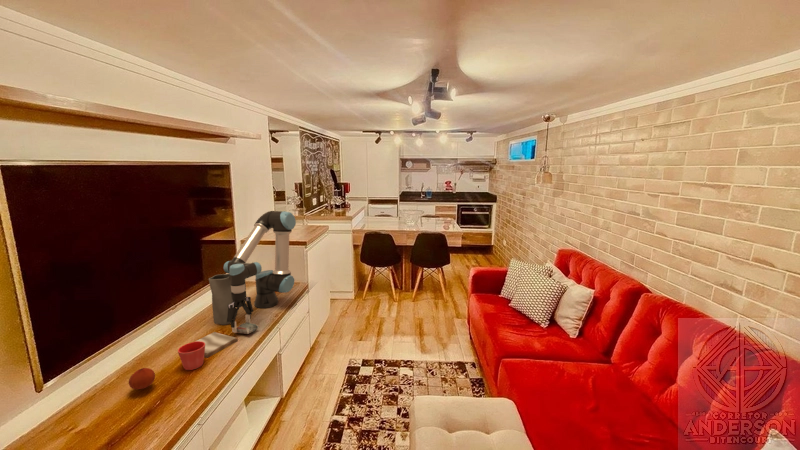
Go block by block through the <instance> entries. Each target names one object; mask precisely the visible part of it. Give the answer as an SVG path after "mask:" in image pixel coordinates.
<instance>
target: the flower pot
mask: <svg viewBox="0 0 800 450" xmlns="http://www.w3.org/2000/svg"><path fill="white" fill-rule="evenodd" d="M196 341H197V340H196ZM204 353H205V343H204V342H201V341H197V342H195V341H193V342H188V343H185V344H183V345H181V346H180V347H178V349H177V354H178V356H179V358H180V361H181V364H182V366H183V369H184V370H185V371H192V370H196V369H198V368H201V367H202V366H203V364H204V359H205V357H204Z"/></svg>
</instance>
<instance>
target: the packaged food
mask: <svg viewBox="0 0 800 450" xmlns="http://www.w3.org/2000/svg"><path fill="white" fill-rule="evenodd" d="M258 329H260V326H259V325H258V324H256V323H251V322H250V323H246V322H244V323H240V324H239V325H238V326H237V333H236V334H244V335H248V334H251V333H253V332H254V331H257V330H258Z"/></svg>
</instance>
